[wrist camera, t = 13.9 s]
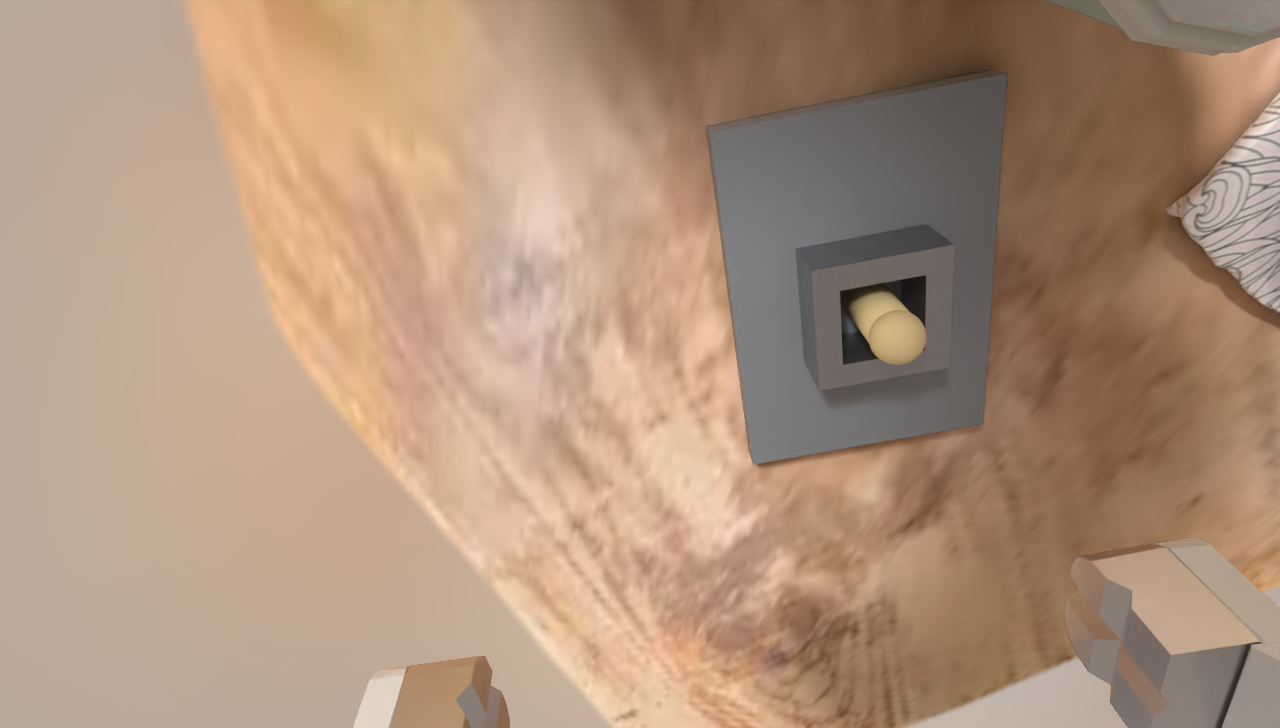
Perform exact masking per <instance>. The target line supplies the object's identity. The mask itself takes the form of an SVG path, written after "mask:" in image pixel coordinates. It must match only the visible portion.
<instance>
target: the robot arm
mask: <svg viewBox="0 0 1280 728" xmlns="http://www.w3.org/2000/svg"><path fill="white" fill-rule="evenodd" d="M1070 578H1071V579H1072V581H1073V582H1074V583H1075V585H1076V586H1077V587H1078V589H1077V590H1076V591H1075V592H1074V593H1073V594H1072V595H1071V596H1070V597H1069V598H1068V599H1067V600H1066V605H1065V615H1064V620H1065V624H1066V628H1067V632H1068V636H1069V639H1070V642H1071V644H1072V646H1073V648H1074V650H1075V652H1076V654H1077V656H1078V657H1079V659H1080V660H1081V661H1082V663H1083V664H1084V666H1085V667H1086V669H1087V670H1088V672H1090V673H1092V674H1094V675H1095V676H1097V677H1098V678H1100V679H1102V680H1104V681H1105V682H1107V683H1109V684H1111V693H1110V703H1111V705H1112V706H1113V707H1114V709H1115V710H1116V712H1117V713H1118V715H1119V716H1120V717H1121V719H1122V720H1123V722H1124V723H1125V724H1126V726H1127V727H1128V728H1280V608H1279V607H1278V606H1277V605H1276V604H1275V603H1273V602H1272V601H1271V600H1270V599H1269V598H1268V597H1267V596H1266V595H1265V594H1264V593H1263V592H1262V591H1261V590H1259V589H1258V588H1257V587H1256V586H1255V585H1254V584H1253V583H1252V582H1251V581H1250V580H1249V579H1247V578H1246V577H1245V576H1244V575H1243V574H1242V573H1241V572H1240V571H1239V570H1238V569H1237V568H1236V567H1234V566H1233V565H1232V564H1231V563H1230V562H1229V561H1228V560H1227V559H1226V558H1225V557H1224V556H1223V555H1221V554H1220V553H1219V552H1218V551H1217V550H1216V549H1215V548H1214V547H1213V546H1212V545H1211V544H1209V543H1208V542H1206V541H1204V540H1202V539H1200V538H1198V537H1192V538H1186V539H1180V540H1174V541H1168V542H1162V543H1156V544H1146V545H1140V546H1135V547H1129V548H1123V549H1118V550H1112V551H1106V552H1101V553H1095V554H1090V555H1084V556H1079V557H1078V558H1077V559H1076V560H1075V561H1074V562H1073V563H1072V568H1071V573H1070ZM491 678H492V669H491V667H490V665H489V663H488V661H487V659H486V657H485V656H477V657H470V658H462V659H456V660H448V661H440V662H433V663H426V664H418V665H412V666H406V667H399V668H393V669H386V670H379V671H376V673H375V674H374V676H373V677H372V678H371V679H370V681H369V683H368V685H367V688H366V691H365V694H364V697H363V700H362V703H361V705H360V708H359V712H358V715H357V718H356V721H355V723H354V726H353V728H510V719H509V714H508V709H507V705H506V702H505V699H504V697H503V694H502V692H501V691H499V690H497V689H496V688H494V687H492V686H491Z"/></svg>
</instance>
